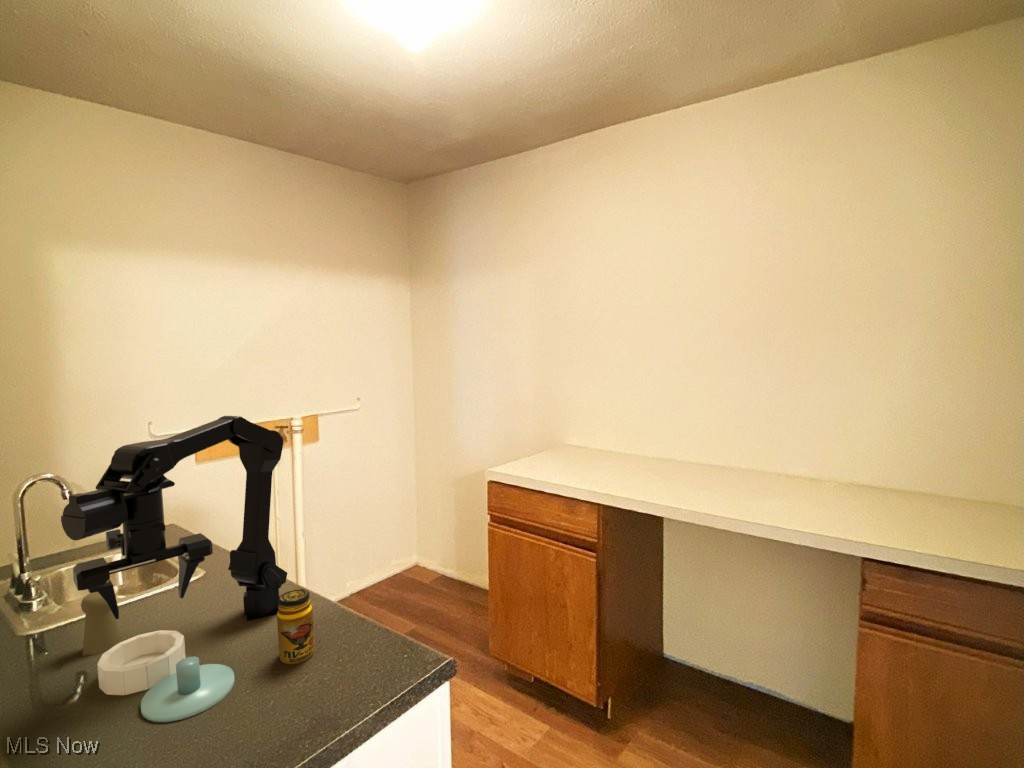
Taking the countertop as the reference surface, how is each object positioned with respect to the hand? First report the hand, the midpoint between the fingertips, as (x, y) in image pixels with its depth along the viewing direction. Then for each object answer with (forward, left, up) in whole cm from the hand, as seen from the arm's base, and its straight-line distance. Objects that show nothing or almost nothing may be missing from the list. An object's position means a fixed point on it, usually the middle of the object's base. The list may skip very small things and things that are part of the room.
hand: (150, 607), depth 88 cm
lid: (-6, +8, -12) cm, 16 cm away
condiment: (-22, +4, -13) cm, 26 cm away
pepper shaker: (+11, -16, -13) cm, 24 cm away
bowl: (+2, -3, -13) cm, 13 cm away
